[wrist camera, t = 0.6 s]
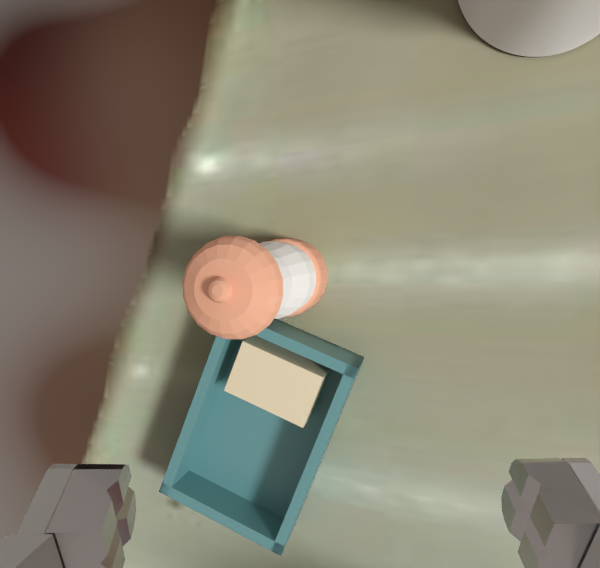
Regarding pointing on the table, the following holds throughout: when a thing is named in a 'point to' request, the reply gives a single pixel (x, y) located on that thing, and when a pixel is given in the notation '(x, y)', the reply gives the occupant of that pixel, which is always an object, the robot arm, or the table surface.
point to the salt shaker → (251, 284)
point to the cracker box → (277, 380)
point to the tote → (256, 443)
